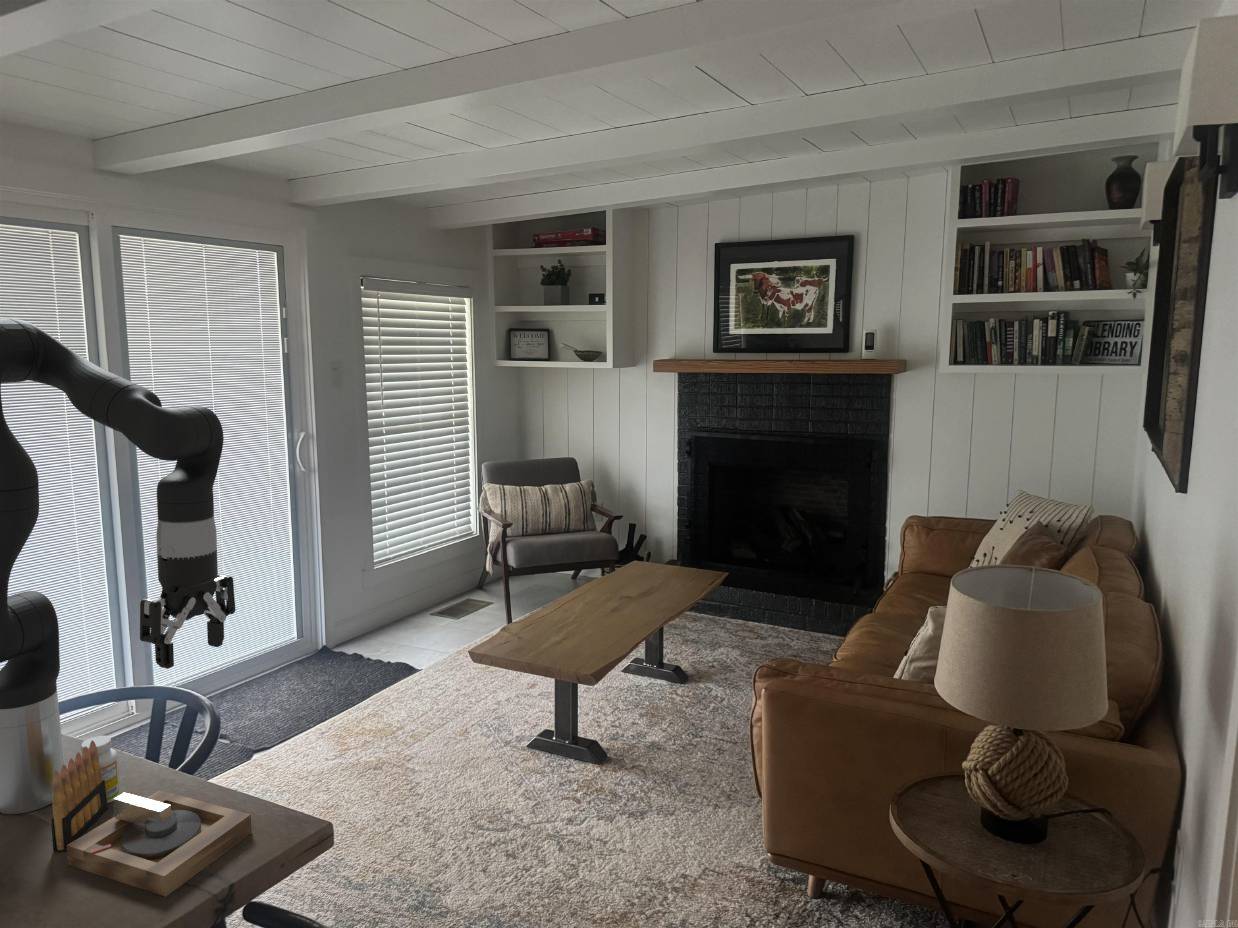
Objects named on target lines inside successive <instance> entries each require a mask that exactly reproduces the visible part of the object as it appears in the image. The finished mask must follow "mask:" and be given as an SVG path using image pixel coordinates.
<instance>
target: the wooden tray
mask: <svg viewBox="0 0 1238 928" xmlns="http://www.w3.org/2000/svg"><path fill="white" fill-rule="evenodd" d="M146 798H147V799H150V800H154V801H158V802H161V803H165V804H168V805H171V810H187V811H191V812H194V813H196V814H197V815H198V816H199V817H200V819H201V832H200V834H198V835H197V836H195V837H194V838H192V839H191V840H189V841H188V842H187V843H185V844H184V845H182V846H181V847H179V848H178V849H176V850H175V851H174V852H172V853H171V854H169V855H168V856H165V857H161V858H156V859H149V860H146V859H143V858H140V857H137V856H133V855H130V854H127V853H124V852H123V851H122V844H121V838H122V836H123V834H124V832H125V831H126V830H127V829H128V828H129V827H130V826H132V825H133V824H135V823H131V822H128V821H124V820H121V819H118V818H115V816H113V817H112V818H110V819H108V820H107V821H105V822H103V823H102V824H99V826H97V827H95V828H94V829H93V828H92V829H91V830H90V831H87V833H85V834H84V835H83V836H81V837H80V838H78V839H76V840H75V841H73V842H71V843H70V844H68V845H67V851H66V854H67V865H68V866H70V867H73V868H76V869H79V870H83V871H85V872H89V873H91V874H95V875H99V876H100V877H103V878H107V879H111V880H114V881H116V882H119V883H122V884H124V885H125V884H126V885H128V886H132V887H134V888H139V889H141V890H145V891H147V892H150V893H153V894H155V895H159V896H162V897H165V898H167V897H168V896H169V895H170V894H171V893H173V892H174V891H175V890H177V889H178V888H180V887H181V886H182V885H184V884H185V883H186V882H188V881H189V880H190V879H192V878H194V877H195V876H196V875H197V874H198V873H200V872H201V871H202V870H204V869H205V868H207V867H208V866H209V865H210V864H212V863H213V862H214V861H217V860H218V859H219V858H220V857H221V856H222V855H224V854H225V853H227V852H228V851H229V850H231V849H232V848H234V847H235V846H236V845H237V844H239V843H240V842H242V841H243V840H245V839H246V838H247V837H248V836H249V835H250V834H253V832H252V816H251V815H252V814H251V813H247V812H243V811H239V810H235V809H232V808H228V807H225V806H220V805H218V804H217V805H216V804H213V803H209V802H206V801H202V800H198V799H195V798H192V797H187V796H183V795H180V794H176V793H173V792H169V791H165V790H161V789H159V790H157V791H155V792H154V793H152V794H150V795H149V796H147V797H146Z"/></svg>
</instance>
